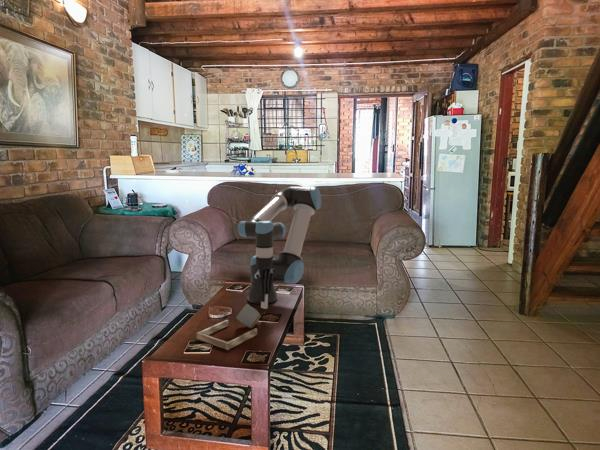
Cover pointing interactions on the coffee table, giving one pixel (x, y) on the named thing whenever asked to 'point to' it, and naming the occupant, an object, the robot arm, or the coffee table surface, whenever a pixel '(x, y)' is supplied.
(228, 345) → the u-shaped bracket
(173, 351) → the coffee table surface
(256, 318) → the tilted grey cube
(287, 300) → the coffee table surface
